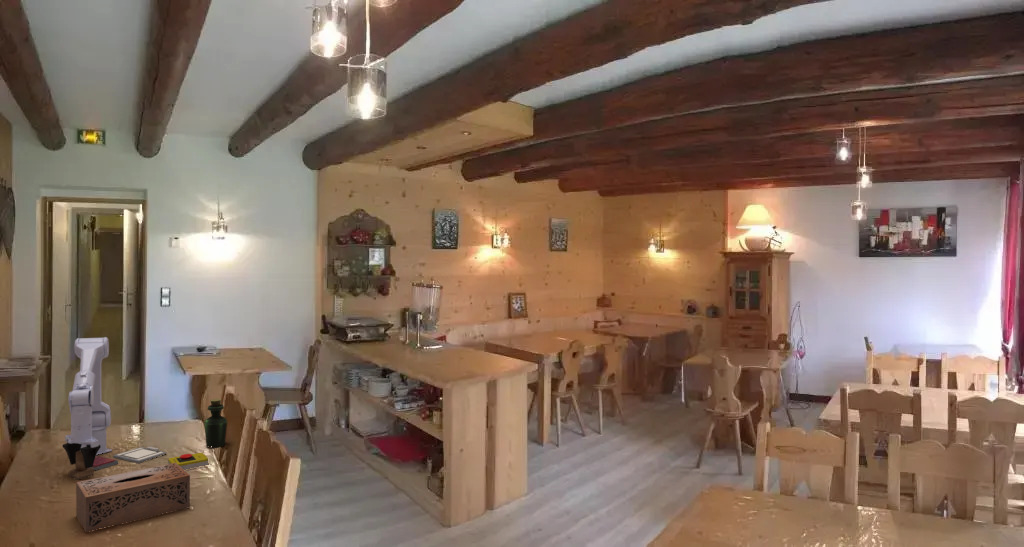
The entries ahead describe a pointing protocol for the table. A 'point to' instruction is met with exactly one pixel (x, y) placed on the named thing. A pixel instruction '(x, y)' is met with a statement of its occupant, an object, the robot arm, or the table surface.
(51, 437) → the table surface
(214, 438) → the potion bottle
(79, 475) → the stamp
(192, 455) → the emergency button
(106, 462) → the ink pad
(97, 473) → the table surface
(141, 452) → the grey white rectangular board
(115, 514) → the tissue box cover
